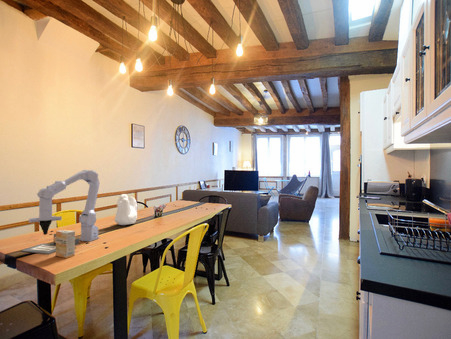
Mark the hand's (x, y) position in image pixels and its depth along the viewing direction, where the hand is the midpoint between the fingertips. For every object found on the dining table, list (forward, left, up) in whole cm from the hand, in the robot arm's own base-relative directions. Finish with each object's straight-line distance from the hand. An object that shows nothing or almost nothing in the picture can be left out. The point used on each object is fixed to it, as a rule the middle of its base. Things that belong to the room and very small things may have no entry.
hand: (45, 234), depth 134 cm
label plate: (0, 0, -8) cm, 8 cm away
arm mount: (+2, -9, -8) cm, 12 cm away
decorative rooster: (-8, -66, -9) cm, 67 cm away
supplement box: (-19, +5, -9) cm, 22 cm away
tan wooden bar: (-6, -7, -7) cm, 12 cm away
